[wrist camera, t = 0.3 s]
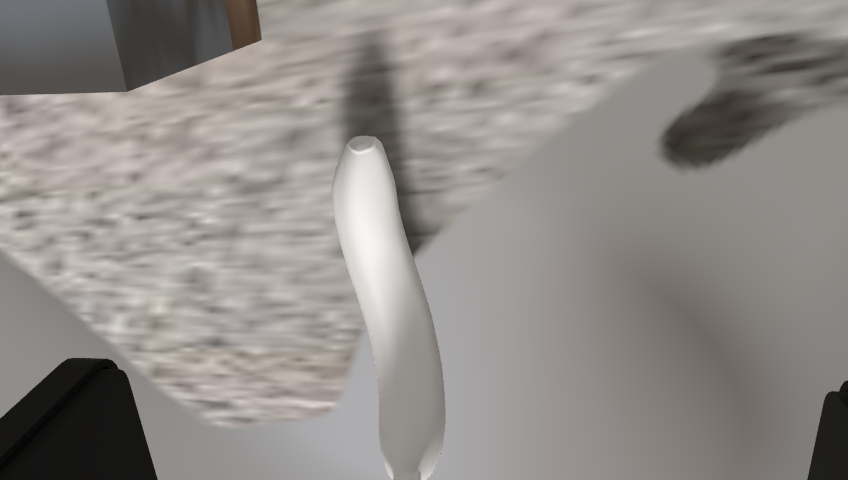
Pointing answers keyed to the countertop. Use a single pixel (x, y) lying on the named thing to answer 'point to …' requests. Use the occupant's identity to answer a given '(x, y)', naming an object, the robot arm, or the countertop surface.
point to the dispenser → (114, 41)
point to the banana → (391, 310)
